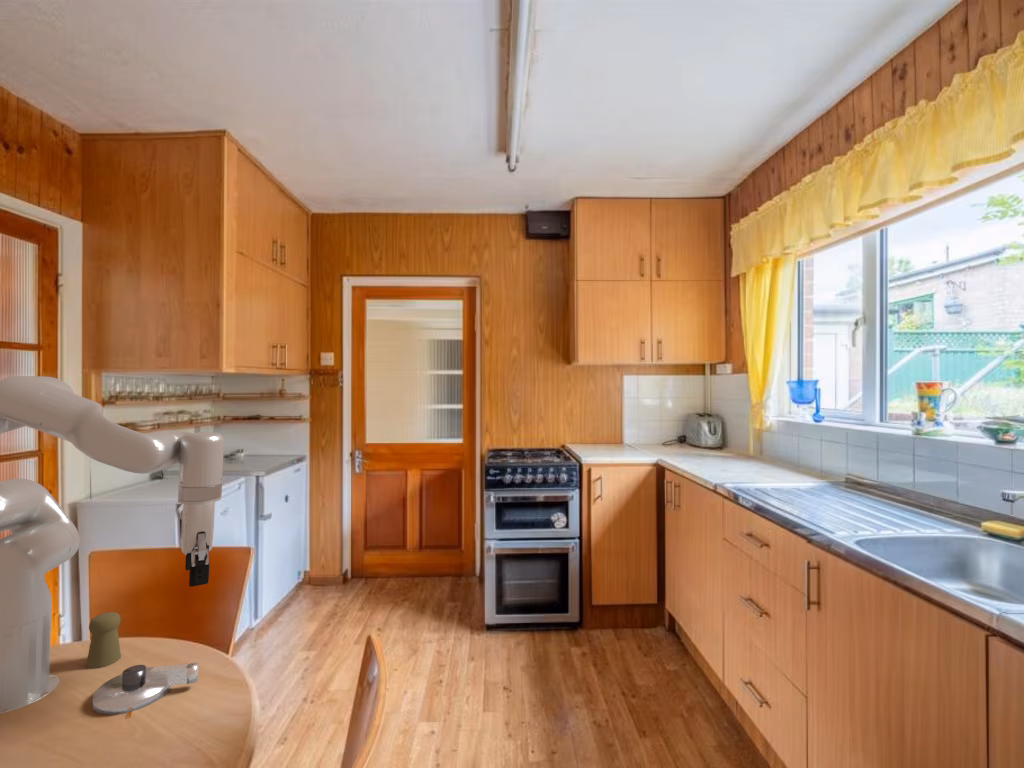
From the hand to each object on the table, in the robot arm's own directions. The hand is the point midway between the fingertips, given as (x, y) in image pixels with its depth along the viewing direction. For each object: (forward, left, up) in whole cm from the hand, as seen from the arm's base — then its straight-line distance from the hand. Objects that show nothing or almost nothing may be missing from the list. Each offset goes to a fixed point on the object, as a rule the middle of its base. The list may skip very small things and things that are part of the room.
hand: (196, 576), depth 99 cm
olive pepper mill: (-22, +6, -22) cm, 31 cm away
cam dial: (-6, -5, -20) cm, 22 cm away
